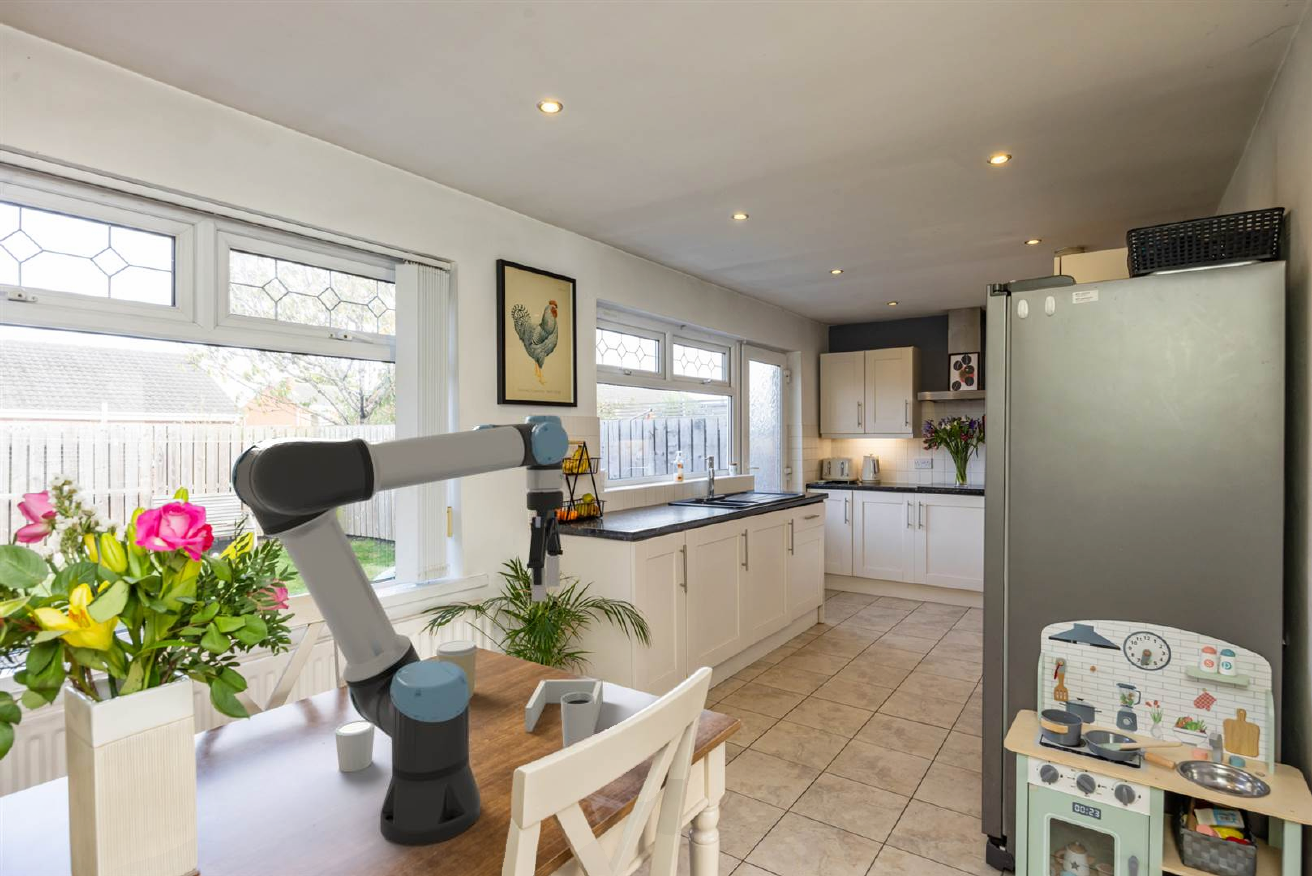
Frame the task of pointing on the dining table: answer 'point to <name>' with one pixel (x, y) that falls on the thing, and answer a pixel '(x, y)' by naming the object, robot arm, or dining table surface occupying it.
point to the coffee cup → (460, 658)
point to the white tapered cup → (355, 745)
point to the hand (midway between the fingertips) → (546, 593)
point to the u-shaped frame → (555, 691)
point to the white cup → (577, 717)
